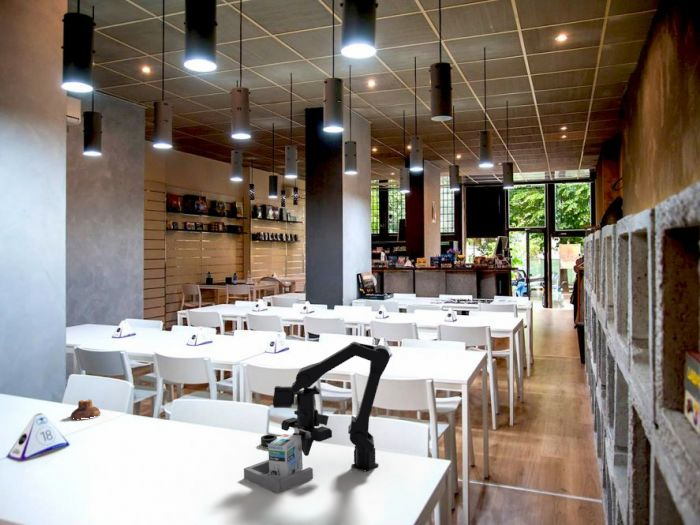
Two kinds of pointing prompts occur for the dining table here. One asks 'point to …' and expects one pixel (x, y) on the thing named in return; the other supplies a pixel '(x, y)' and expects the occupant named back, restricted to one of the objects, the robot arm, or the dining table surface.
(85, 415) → the brown fuzzy lump
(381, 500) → the dining table surface
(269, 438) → the duct tape
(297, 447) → the light bulb box
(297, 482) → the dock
